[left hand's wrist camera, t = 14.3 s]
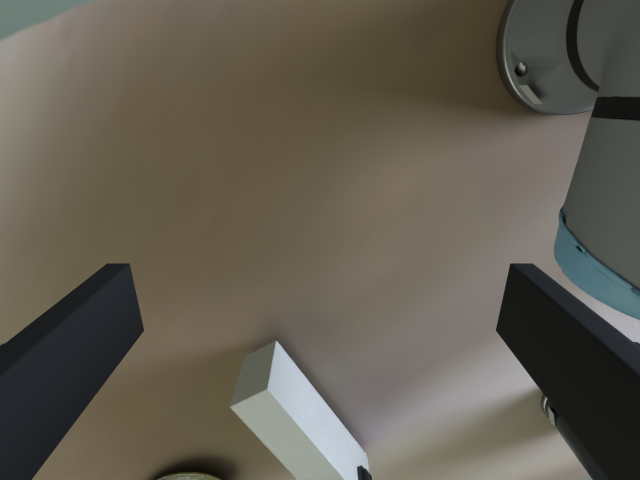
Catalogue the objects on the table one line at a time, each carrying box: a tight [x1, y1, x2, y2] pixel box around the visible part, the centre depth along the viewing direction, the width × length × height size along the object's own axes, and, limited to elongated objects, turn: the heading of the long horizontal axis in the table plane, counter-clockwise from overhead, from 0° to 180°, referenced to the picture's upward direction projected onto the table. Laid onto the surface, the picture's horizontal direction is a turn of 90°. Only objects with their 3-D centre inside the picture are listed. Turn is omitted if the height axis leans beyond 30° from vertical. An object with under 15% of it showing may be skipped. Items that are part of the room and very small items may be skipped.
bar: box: [230, 341, 369, 480], centre depth 50 cm, size 26×5×9 cm, turn 31°
